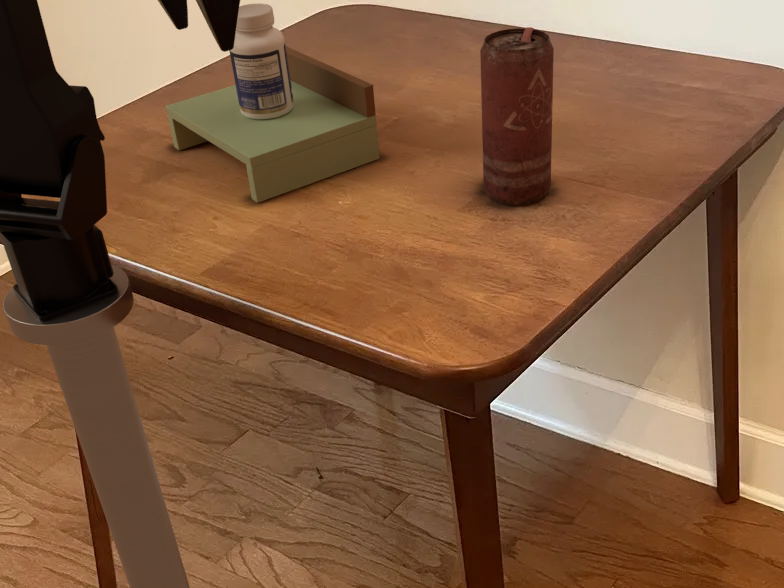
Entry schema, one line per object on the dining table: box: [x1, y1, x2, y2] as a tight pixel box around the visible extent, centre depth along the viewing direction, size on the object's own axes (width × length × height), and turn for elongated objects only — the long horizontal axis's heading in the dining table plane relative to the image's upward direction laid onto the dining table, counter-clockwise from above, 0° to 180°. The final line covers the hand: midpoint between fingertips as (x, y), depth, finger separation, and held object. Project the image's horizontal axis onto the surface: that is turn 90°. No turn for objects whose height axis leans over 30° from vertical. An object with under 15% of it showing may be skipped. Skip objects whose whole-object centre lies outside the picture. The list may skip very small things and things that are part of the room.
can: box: [479, 26, 555, 207], centre depth 90 cm, size 6×6×14 cm
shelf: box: [165, 46, 381, 204], centre depth 103 cm, size 14×18×8 cm
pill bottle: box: [228, 3, 294, 119], centre depth 99 cm, size 5×5×10 cm
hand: (204, 39), depth 95 cm, fingers open, 9 cm apart
